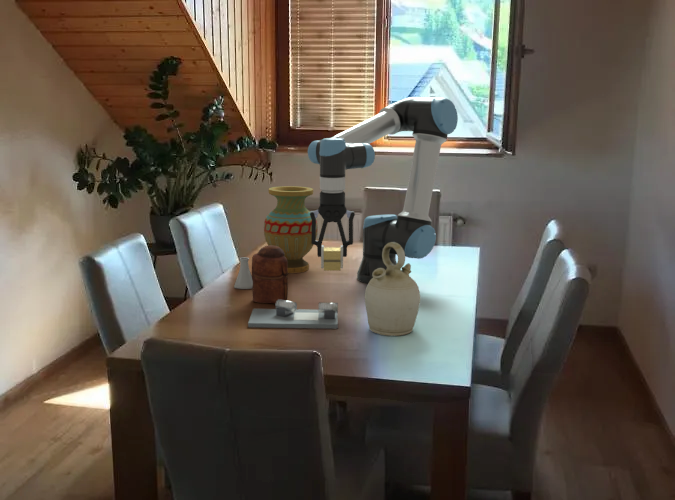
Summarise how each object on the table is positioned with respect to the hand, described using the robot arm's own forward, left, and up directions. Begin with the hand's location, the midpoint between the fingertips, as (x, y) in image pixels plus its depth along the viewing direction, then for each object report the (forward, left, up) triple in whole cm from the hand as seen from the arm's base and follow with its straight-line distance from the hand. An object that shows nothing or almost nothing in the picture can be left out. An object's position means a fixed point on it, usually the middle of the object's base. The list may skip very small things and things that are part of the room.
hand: (332, 267), depth 219 cm
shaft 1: (+13, +12, -12) cm, 21 cm away
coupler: (0, 0, 0) cm, 1 cm away
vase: (+15, -50, -13) cm, 54 cm away
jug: (-17, +20, -13) cm, 29 cm away
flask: (+29, -23, -13) cm, 39 cm away
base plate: (+11, +13, -13) cm, 21 cm away
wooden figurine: (+19, -6, -13) cm, 24 cm away
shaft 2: (+1, +13, -12) cm, 18 cm away
